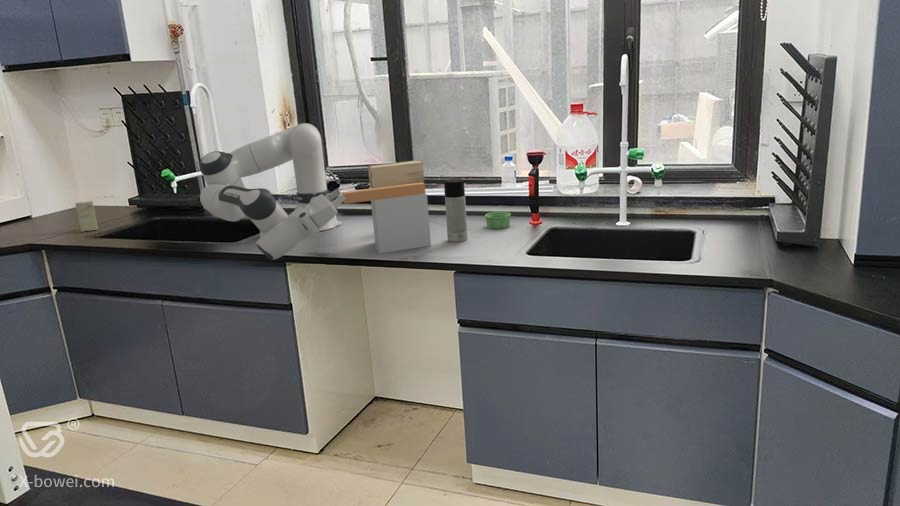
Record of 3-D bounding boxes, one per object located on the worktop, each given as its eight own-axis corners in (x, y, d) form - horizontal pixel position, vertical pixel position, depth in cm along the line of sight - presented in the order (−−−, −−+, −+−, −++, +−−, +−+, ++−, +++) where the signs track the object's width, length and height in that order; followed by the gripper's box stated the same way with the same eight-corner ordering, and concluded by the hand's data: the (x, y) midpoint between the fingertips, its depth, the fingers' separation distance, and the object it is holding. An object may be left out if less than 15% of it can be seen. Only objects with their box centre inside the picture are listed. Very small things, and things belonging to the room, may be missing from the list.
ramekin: (497, 230, 226) (497, 218, 224) (480, 227, 233) (479, 215, 231) (516, 225, 231) (515, 213, 230) (499, 222, 238) (498, 210, 237)
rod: (343, 202, 204) (341, 192, 203) (422, 192, 212) (421, 182, 211) (344, 203, 201) (343, 193, 200) (425, 193, 209) (424, 183, 208)
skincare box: (81, 233, 269) (74, 204, 266) (82, 231, 273) (75, 202, 270) (98, 230, 272) (91, 202, 268) (98, 228, 276) (92, 200, 272)
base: (375, 249, 212) (370, 197, 208) (425, 241, 218) (421, 191, 213) (380, 253, 207) (374, 200, 202) (430, 245, 212) (426, 194, 207)
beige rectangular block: (375, 242, 221) (367, 165, 214) (423, 235, 226) (417, 160, 219) (379, 246, 216) (371, 167, 209) (428, 238, 221) (422, 162, 214)
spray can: (470, 237, 219) (466, 178, 213) (464, 242, 213) (460, 182, 207) (451, 237, 221) (447, 178, 216) (444, 242, 215) (440, 182, 210)
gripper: (307, 222, 210) (341, 196, 212) (316, 235, 191) (354, 207, 193) (295, 207, 208) (330, 180, 209) (303, 218, 189) (341, 190, 191)
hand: (341, 193), depth 201 cm, fingers open, 8 cm apart
